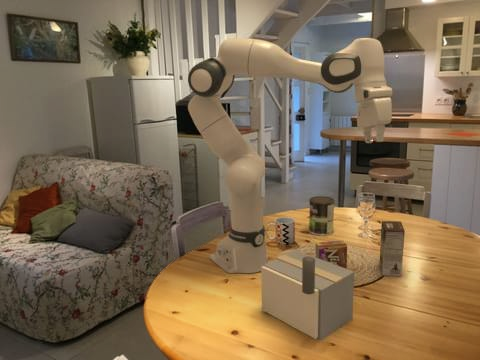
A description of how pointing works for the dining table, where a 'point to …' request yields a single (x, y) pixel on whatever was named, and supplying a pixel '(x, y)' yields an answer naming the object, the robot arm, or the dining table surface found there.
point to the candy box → (333, 252)
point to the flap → (292, 297)
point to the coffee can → (321, 215)
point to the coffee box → (391, 248)
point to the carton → (323, 289)
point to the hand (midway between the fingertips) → (374, 142)
